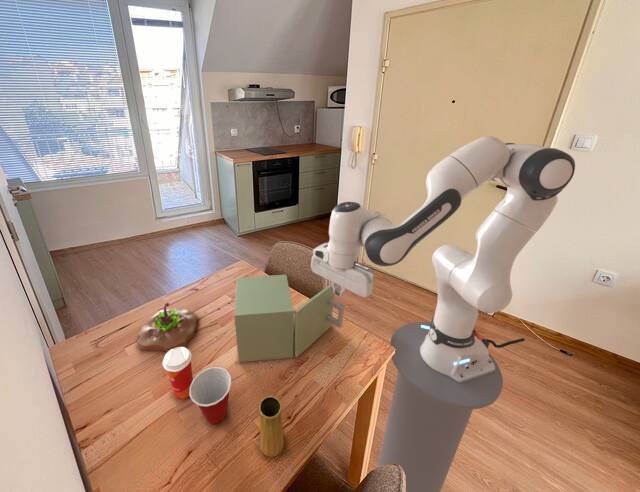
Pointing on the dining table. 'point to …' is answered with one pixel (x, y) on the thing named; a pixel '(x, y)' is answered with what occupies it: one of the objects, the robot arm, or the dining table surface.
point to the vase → (271, 426)
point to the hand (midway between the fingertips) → (338, 294)
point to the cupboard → (264, 318)
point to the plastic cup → (211, 393)
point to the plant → (167, 329)
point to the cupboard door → (316, 318)
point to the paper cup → (179, 371)
